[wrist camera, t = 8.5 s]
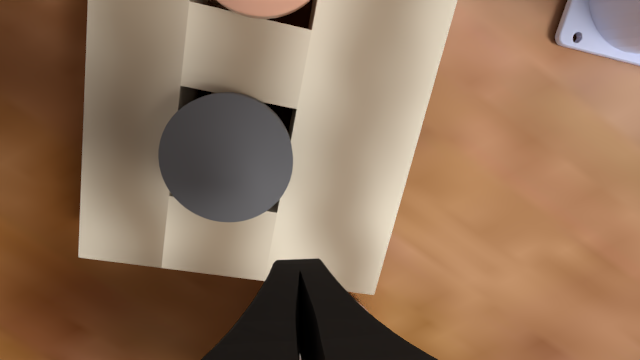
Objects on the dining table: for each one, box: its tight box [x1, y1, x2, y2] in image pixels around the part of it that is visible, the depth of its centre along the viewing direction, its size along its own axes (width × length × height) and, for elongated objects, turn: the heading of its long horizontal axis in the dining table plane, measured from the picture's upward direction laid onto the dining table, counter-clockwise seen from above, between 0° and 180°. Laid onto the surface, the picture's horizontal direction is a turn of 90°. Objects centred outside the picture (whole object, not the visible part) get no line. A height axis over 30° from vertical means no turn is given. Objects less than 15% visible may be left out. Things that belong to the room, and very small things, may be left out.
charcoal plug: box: [158, 92, 293, 222], centre depth 17 cm, size 5×5×5 cm
